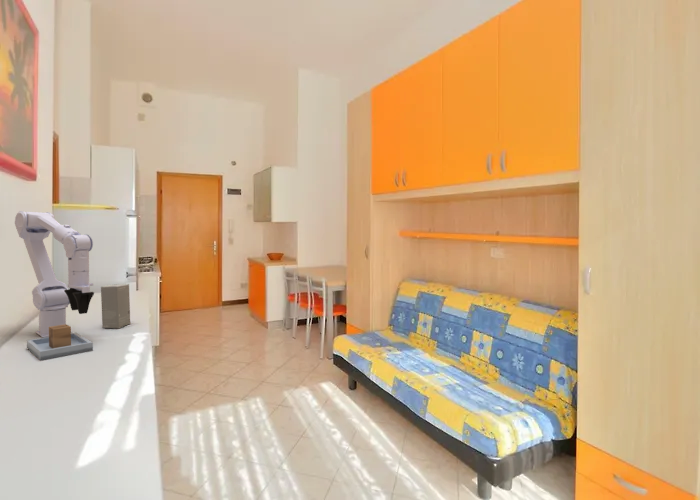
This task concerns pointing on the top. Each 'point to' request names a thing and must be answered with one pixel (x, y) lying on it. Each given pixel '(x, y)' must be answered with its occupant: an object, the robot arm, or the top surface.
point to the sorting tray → (46, 352)
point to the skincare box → (115, 305)
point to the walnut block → (59, 336)
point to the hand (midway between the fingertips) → (79, 311)
